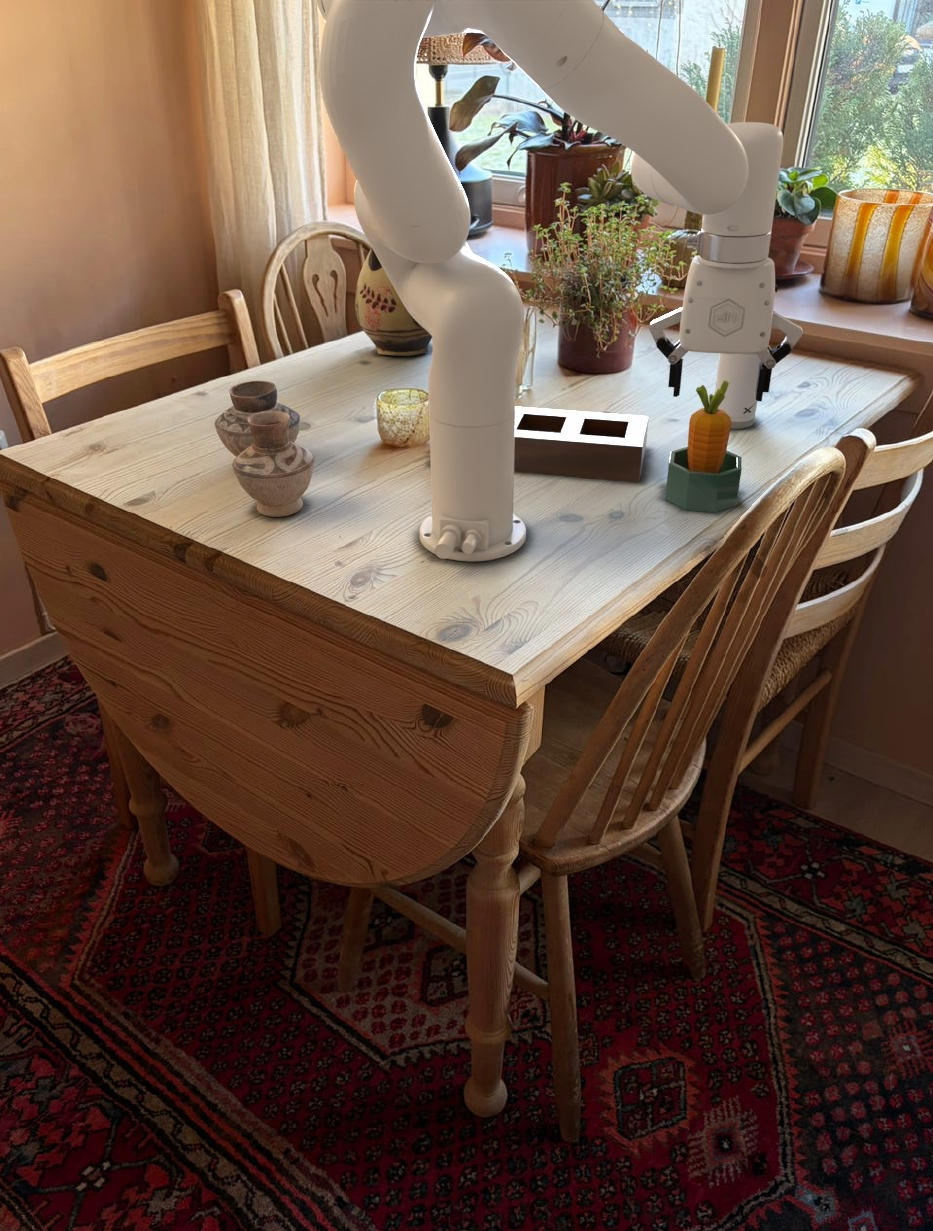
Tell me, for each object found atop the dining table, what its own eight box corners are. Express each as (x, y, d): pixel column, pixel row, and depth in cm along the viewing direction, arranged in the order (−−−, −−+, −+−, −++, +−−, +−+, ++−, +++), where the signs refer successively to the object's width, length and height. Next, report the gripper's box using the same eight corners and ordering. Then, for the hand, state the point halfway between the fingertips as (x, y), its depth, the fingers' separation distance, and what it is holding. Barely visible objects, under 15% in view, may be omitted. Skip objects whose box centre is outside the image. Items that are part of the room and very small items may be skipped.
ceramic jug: (408, 331, 187) (402, 159, 171) (461, 350, 177) (458, 169, 161) (333, 350, 178) (319, 170, 162) (384, 371, 168) (374, 181, 152)
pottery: (241, 532, 119) (227, 438, 112) (216, 454, 139) (203, 371, 132) (333, 517, 122) (325, 425, 115) (296, 443, 142) (287, 361, 135)
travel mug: (757, 431, 144) (779, 291, 133) (711, 427, 145) (729, 289, 135) (755, 415, 149) (776, 280, 139) (710, 412, 151) (728, 278, 140)
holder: (736, 514, 122) (741, 477, 119) (663, 508, 123) (667, 471, 121) (736, 484, 129) (741, 449, 126) (667, 479, 130) (671, 443, 128)
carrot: (679, 502, 124) (693, 387, 116) (682, 486, 129) (695, 373, 120) (720, 506, 123) (736, 390, 115) (721, 489, 128) (737, 376, 119)
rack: (639, 482, 130) (642, 446, 127) (432, 464, 135) (431, 430, 132) (645, 450, 139) (648, 416, 136) (451, 434, 144) (451, 401, 141)
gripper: (653, 253, 108) (642, 402, 118) (817, 257, 105) (793, 410, 114) (657, 238, 115) (646, 381, 124) (813, 241, 111) (790, 388, 120)
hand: (717, 395), depth 119 cm, fingers open, 9 cm apart
